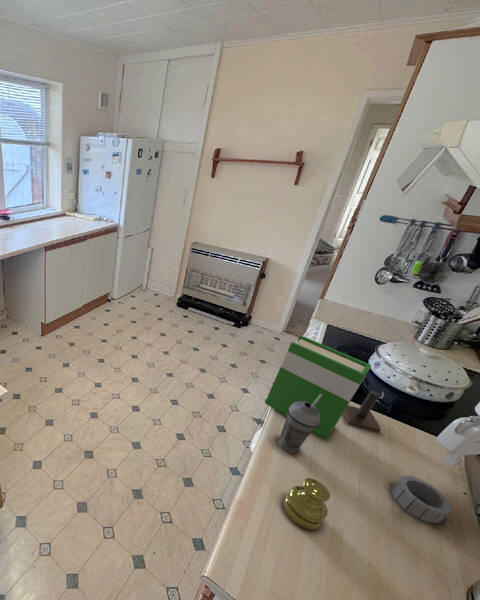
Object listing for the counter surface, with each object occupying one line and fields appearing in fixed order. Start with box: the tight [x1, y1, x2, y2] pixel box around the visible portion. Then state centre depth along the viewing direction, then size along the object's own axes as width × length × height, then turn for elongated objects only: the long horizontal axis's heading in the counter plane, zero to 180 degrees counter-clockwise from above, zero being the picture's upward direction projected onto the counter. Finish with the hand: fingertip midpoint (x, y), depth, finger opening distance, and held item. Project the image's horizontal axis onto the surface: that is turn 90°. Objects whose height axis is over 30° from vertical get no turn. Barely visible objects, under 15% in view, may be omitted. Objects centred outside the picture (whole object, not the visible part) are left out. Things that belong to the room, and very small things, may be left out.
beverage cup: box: [278, 394, 322, 454], centre depth 86 cm, size 7×7×20 cm
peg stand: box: [342, 390, 381, 434], centre depth 99 cm, size 8×8×11 cm
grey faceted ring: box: [391, 475, 452, 524], centre depth 77 cm, size 9×9×4 cm
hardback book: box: [264, 334, 372, 440], centre depth 96 cm, size 18×7×24 cm, turn 39°
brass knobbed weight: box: [283, 477, 331, 530], centre depth 72 cm, size 7×7×10 cm
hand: (468, 462), depth 70 cm, fingers open, 8 cm apart
